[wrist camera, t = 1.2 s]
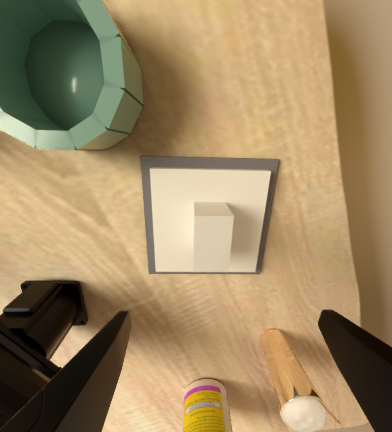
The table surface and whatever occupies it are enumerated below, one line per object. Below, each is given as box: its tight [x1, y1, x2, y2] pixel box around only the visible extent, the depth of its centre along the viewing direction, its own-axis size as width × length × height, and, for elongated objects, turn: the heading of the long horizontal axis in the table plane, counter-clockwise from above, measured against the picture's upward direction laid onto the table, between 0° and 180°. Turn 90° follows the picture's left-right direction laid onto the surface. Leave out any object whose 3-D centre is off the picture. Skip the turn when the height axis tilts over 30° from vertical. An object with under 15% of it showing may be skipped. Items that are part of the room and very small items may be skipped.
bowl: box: [0, 0, 144, 150], centre depth 14 cm, size 10×10×5 cm
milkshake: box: [261, 329, 341, 432], centre depth 22 cm, size 5×5×10 cm
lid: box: [150, 167, 271, 272], centre depth 18 cm, size 11×11×5 cm
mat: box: [140, 156, 279, 274], centre depth 20 cm, size 13×13×1 cm
